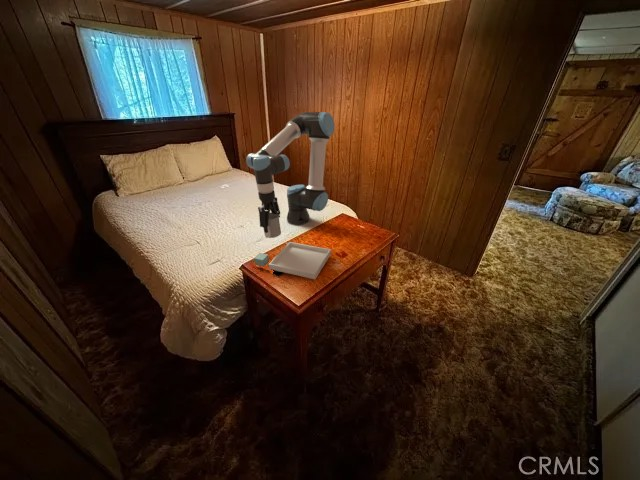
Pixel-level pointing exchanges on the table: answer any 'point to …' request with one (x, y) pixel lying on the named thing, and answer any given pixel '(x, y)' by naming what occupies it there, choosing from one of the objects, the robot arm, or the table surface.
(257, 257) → the block
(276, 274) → the smartphone
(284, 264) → the shallow white dish
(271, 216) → the cup
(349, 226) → the table surface
